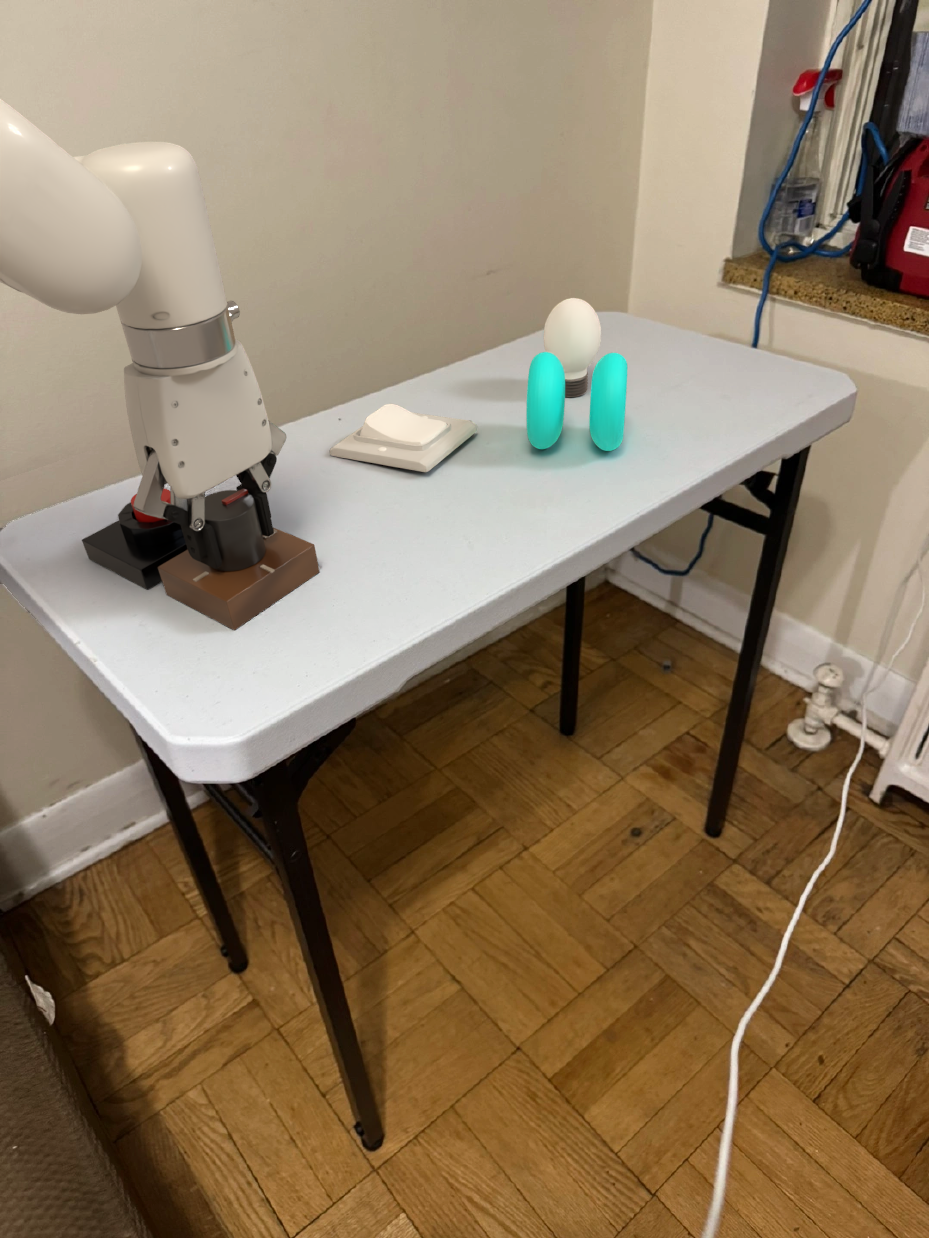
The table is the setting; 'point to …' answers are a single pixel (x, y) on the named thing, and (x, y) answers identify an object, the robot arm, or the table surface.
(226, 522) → the dimmer knob
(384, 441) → the light switch
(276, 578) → the dimmer panel
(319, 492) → the table surface
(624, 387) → the donuts
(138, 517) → the power button
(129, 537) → the switch block
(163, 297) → the robot arm
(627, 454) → the table surface
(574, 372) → the light bulb
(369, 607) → the table surface
